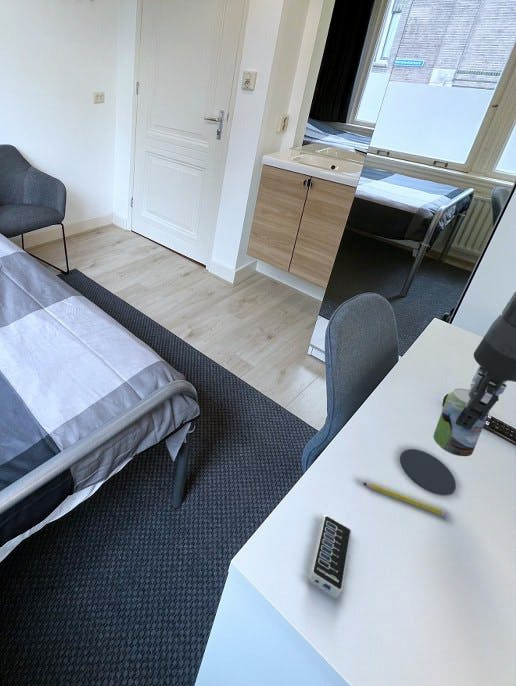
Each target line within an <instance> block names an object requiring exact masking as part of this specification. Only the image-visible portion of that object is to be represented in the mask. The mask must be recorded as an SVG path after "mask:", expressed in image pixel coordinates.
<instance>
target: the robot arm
mask: <svg viewBox="0 0 516 686" xmlns="http://www.w3.org/2000/svg"><path fill="white" fill-rule="evenodd" d="M473 359H474V360H475V362H476V363H477V364H478V365H479V366H478V368H477V370H476V372H475V374H474V375H473V377H472V379H471V383H470V388H469V390H470V391H469V393H468V395H469V397H470V398H469V400H468V402H467V404H465V405H464V409H463V411H462V412H461V414H460V415H459V417H458V418H457V420H456V424H457V425H459V426H461V427H463V428H465V429H467V430H470V429H471V428H472V427H473V425H474V424H475V423H476V421H477V420H478V419H479V420H481V421H482V420H483V419H484V418H485V416H486V414H487V413H488V412H489V413H490V411H491V409H492V408H493V407H494V406H495V404H496V403H497V402H499V400H500V399H499V397H500V395H502V394H503V393H504V392H505V390H506V388H507V386H508V384H506V383H507V382H515V383H516V291H515V292H514V293H513V294H512V296H511V297H510V299H509V301H508V302H507V304H506V305H505V307H504V308H503V310H502V312H501V313H500V314H499V316H498V317H497V318H496V319H495V320H494V321H493V323H492V324H491V326H489V328H488V330H487V331H486V334H485V335H484V336H483V338H482V339H481V341H480V342H479V344H478V346H477V347H476V349H475V351H474V352H473ZM474 392H475V393H476V394H474ZM476 407H477V408H476ZM478 408H479V409H478ZM489 413H488V414H489Z"/></svg>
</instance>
